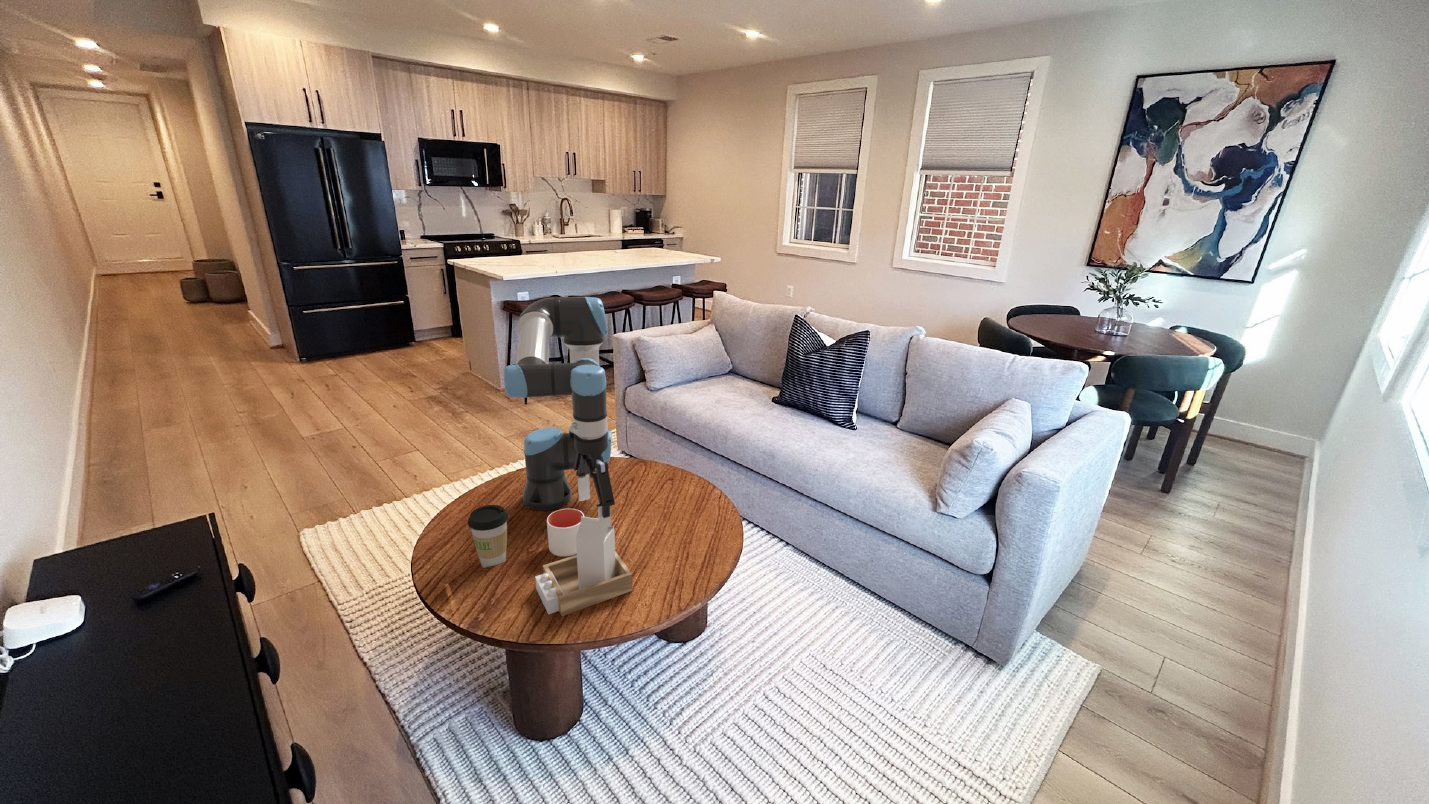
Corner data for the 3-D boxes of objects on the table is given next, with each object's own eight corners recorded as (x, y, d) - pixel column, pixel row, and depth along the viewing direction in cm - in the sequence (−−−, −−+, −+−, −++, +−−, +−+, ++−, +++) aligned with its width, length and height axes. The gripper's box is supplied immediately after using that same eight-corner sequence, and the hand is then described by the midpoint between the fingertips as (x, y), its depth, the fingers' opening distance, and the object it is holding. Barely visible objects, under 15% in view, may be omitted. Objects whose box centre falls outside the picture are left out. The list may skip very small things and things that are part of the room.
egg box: (536, 589, 137) (534, 572, 135) (552, 584, 139) (551, 567, 137) (548, 614, 129) (546, 596, 127) (565, 608, 131) (563, 590, 129)
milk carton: (605, 594, 136) (602, 528, 130) (578, 589, 138) (574, 524, 131) (616, 576, 143) (614, 513, 136) (590, 571, 144) (587, 508, 138)
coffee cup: (473, 554, 151) (466, 507, 145) (511, 547, 154) (506, 500, 149) (474, 576, 142) (466, 527, 137) (514, 568, 146) (509, 519, 141)
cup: (592, 542, 158) (591, 512, 154) (573, 563, 149) (571, 531, 145) (562, 535, 161) (560, 505, 157) (541, 554, 152) (539, 523, 148)
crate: (544, 585, 140) (542, 565, 138) (611, 563, 149) (610, 544, 147) (561, 619, 129) (560, 598, 127) (632, 593, 139) (632, 574, 136)
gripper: (557, 416, 133) (562, 492, 141) (595, 459, 114) (598, 544, 122) (587, 411, 137) (590, 485, 145) (628, 451, 118) (630, 535, 126)
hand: (594, 512), depth 133 cm, fingers open, 13 cm apart
